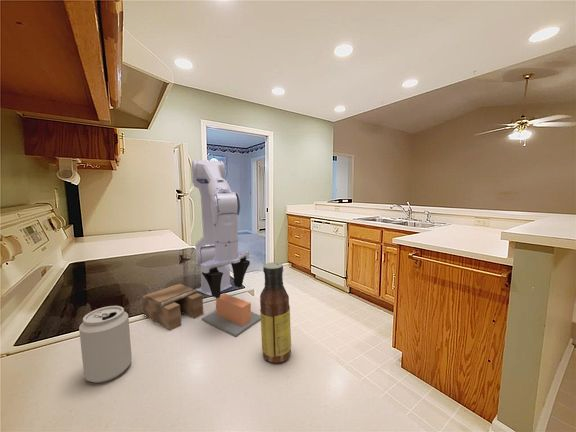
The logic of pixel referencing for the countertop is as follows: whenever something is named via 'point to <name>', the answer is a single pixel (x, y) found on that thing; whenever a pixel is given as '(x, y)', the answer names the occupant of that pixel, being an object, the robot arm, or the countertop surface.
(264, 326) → the sauce bottle
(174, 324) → the brown wooden stand
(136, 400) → the countertop surface
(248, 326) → the mat
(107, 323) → the can
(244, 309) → the orange clay brick
